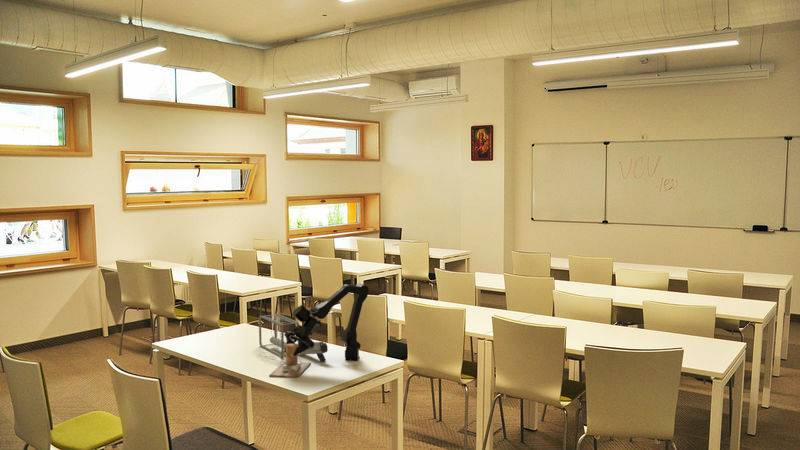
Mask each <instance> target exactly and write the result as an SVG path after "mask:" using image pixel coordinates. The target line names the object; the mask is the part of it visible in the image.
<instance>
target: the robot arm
mask: <svg viewBox="0 0 800 450" xmlns="http://www.w3.org/2000/svg"><path fill="white" fill-rule="evenodd" d="M369 293H370V288H369V286H367V285H366V284H362V283H357V284H347V283H346V284H345V283H344V284H342V286H341V287H340V288H339V289H338V290H337V291H335V292H334V293H333V294H332V295H331V296H330V297H329V298H328V299H326V300H325V301H324V302H320V303H318V304H317V305H315V306H314V307H312V308H311V309H307V308H306V306H305V305H303V304H300V306H298V307H296V308H295V309H294V310H293V311H292V316H293V317H294V318H296V319H297V320H298V322H300V323H303V324H302V325H300V324H299V325H298V326H297V325H293V324H289V326H288V328H287V331H288V332H287V331H286V332H284V333H283V334H284V338H285V340H286V339H287V340H286V344H290V343H295V344H296V342H298V341H299V346H298V347H297V349H296V351H295V352H294V354H293V355H294V356H296V355H300V353H301V352H303V351H305V350H307V349H309V348H313V347H314V342H315V341H313V339H311V338H310V336H312V335H313V331H314V329H315V327H316V326H317V327H318V326H321V327H322V322H321V320H323V319H325V318H326V317H327V316H328V315H329V313H330V312H331V310H332V308H333V307H335V305H336V304H338V303H339V302H340V301H342V300H343V298H345V297H346V296H347V295H348V294H353V303H352V308H351V311H350V315H349V318H348V319H349V320H348V323H347V326H346V328H345V329H341V330H342V332H341V335H340V338H341V339H340V340H341V342H342V343H343V345H344V346H345V350H344V360H345V361H348V362H349V361H351V362H352V361H356V362H358V360H359V359H360V358H361V357H360V349H361V346H362V344H361V343H360V342H359V341H358V340H357V339H358V333H357V327H358V323H359V319H360V315H361V311H362V308H363V304H364V302H365V301H366V299H367V297H368V296H369ZM284 354H286V346H285V350H284Z"/></svg>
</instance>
